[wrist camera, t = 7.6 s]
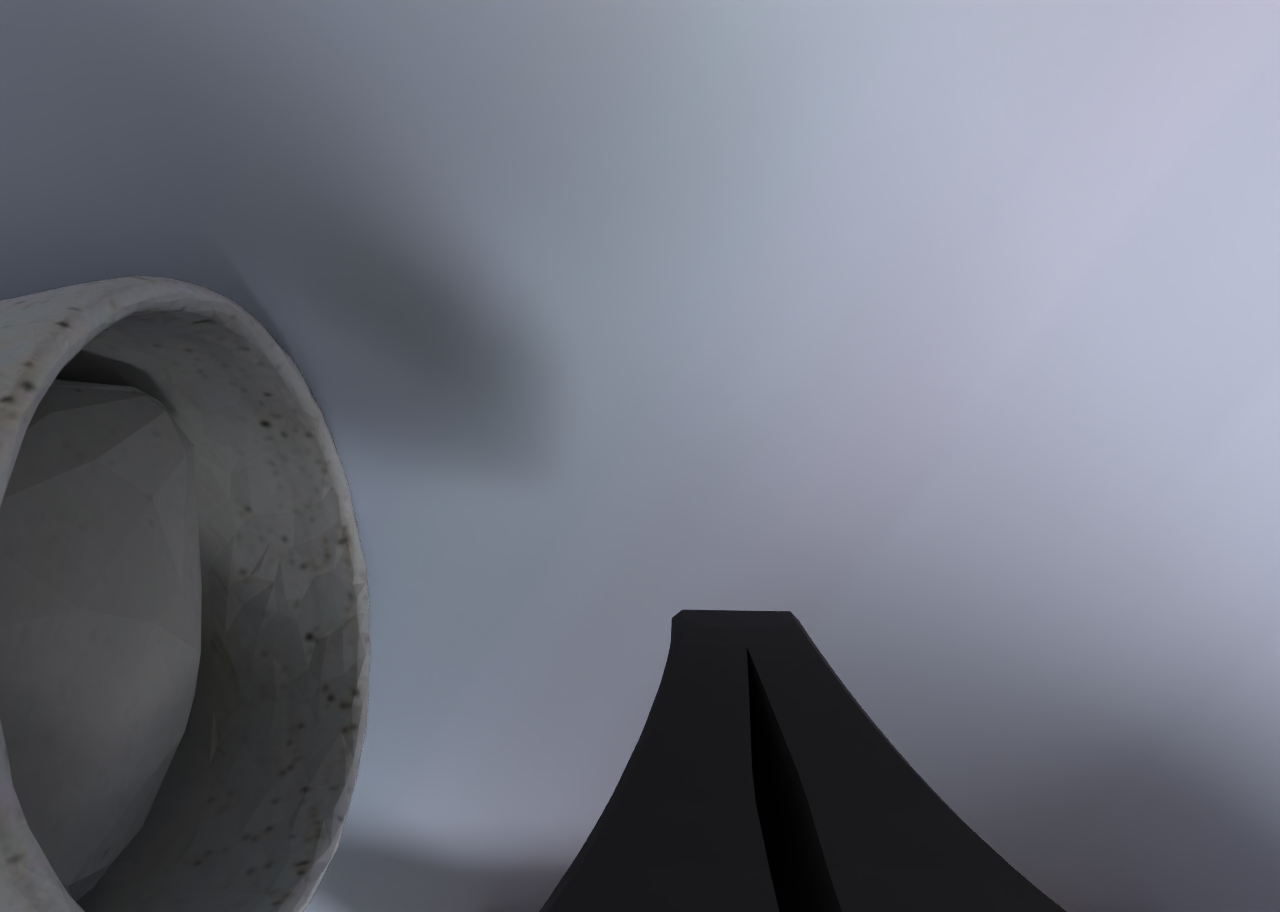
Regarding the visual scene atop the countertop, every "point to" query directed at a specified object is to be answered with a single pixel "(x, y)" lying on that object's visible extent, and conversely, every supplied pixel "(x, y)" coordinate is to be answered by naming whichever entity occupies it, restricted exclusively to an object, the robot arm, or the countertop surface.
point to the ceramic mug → (170, 609)
